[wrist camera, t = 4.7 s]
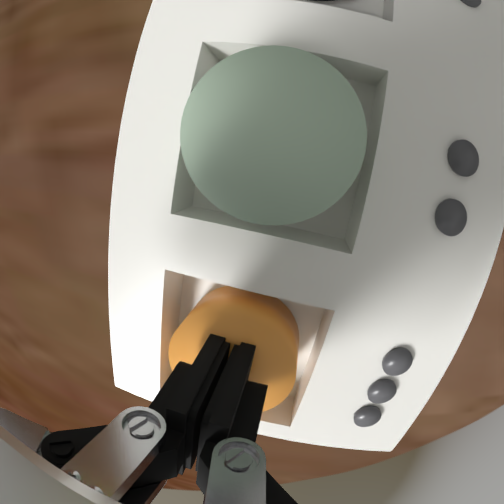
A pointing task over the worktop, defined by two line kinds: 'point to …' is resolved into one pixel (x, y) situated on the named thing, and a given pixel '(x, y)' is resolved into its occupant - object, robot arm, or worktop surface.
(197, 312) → the orange button
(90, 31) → the worktop surface
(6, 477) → the robot arm
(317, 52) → the button panel
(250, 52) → the sage button
